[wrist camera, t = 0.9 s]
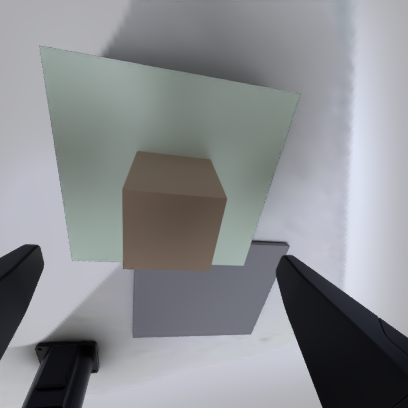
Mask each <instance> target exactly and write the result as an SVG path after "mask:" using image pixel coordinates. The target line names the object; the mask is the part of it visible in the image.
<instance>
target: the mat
mask: <svg viewBox="0 0 408 408" xmlns="http://www.w3.org/2000/svg"><path fill="white" fill-rule="evenodd" d="M289 247H290V246H289V245H288V244H283V243H263V242H251V245H250V248H249V251H248V254H247V257H246V260H245V263H244V266H236V265H211V269H210V271H185V270H143V269H134V298H133V338H142V337H177V336H211V335H246V334H251V333H252V331H253V329H254V326H255V324H256V322H257V319H258V317H259V315H260V313H261V310H262V308H263V306H264V304H265V301H266V299H267V297H268V294H269V292H270V290H271V288H272V285H273V283H274V281H275V278H276V268H277V265H278V263H279V261H280V258H281V256H283V255H286V253H287V251H288V249H289Z"/></svg>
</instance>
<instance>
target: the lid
mask: <svg viewBox="0 0 408 408" xmlns="http://www.w3.org/2000/svg"><path fill="white" fill-rule="evenodd" d="M39 48H40V54H41V60H42V66H43V73H44V80H45V86H46V93H47V99H48V106H49V112H50V120H51V126H52V133H53V139H54V145H55V152H56V157H57V158H56V159H57V165H58V172H59V179H60V185H61V192H62V198H63V204H64V211H65V218H66V224H67V231H68V238H69V244H70V251H71V257H72V261H99V262H123V269H143V270H185V271H210V269H211V265H236V266H244V263H245V260H246V257H247V254H248V251H249V248H250V245H251V242H252V239H253V236H254V233H255V230H256V227H257V224H258V221H259V218H260V215H261V212H262V209H263V206H264V203H265V200H266V197H267V194H268V191H269V188H270V185H271V182H272V179H273V176H274V173H275V170H276V167H277V164H278V161H279V158H280V155H281V152H282V149H283V146H284V143H285V140H286V137H287V134H288V131H289V128H290V125H291V122H292V119H293V116H294V113H295V110H296V107H297V104H298V101H299V98H300V95H301V94H300V93H295V92H290V91H285V90H279V89H274V88H268V87H263V86H257V85H252V84H246V83H241V82H236V81H230V80H225V79H219V78H214V77H208V76H203V75H197V74H192V73H187V72H181V71H176V70H170V69H165V68H159V67H154V66H148V65H143V64H138V63H132V62H127V61H121V60H116V59H110V58H105V57H100V56H94V55H89V54H83V53H78V52H72V51H67V50H61V49H56V48H51V47H44V46H39Z"/></svg>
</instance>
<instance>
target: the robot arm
mask: <svg viewBox="0 0 408 408" xmlns="http://www.w3.org/2000/svg"><path fill="white" fill-rule="evenodd" d="M43 268H44V261H43V256H42V252H41V248H40V246H39V245H31V244H25V245H23V246H21V247H19V248H17V249H15V250H14V251H12V252H10V253H8V254H6V255H4V256H3V257H1V258H0V360H1V358H2V356H3V354H4V353H5V351H6V349H7V347H8V345H9V343H10V341H11V339H12V338H13V336H14V334H15V332H16V330H17V328H18V326H19V324H20V323H21V320H22V319H23V317H24V315H25V313H26V311H27V308H28V306H29V303H30V301H31V299H32V296H33V293H34V291H35V288H36V286H37V284H38V281H39V278H40V276H41V273H42V271H43ZM276 277H277V281H278V285H279V288H280V292H281V296H282V300H283V303H284V307H285V310H286V313H287V316H288V318H289V321H290V324H291V326H292V329H293V331H294V334H295V337H296V339H297V342H298V345H299V347H300V350H301V352H302V355H303V358H304V360H305V363H306V366H307V368H308V371H309V373H310V376H311V379H312V381H313V384H314V387H315V389H316V392H317V394H318V397H319V400H320V402H321V405H322V407H323V408H408V338H407V337H406V336H405V335H403V334H402V333H400V332H399V331H398V330H396V329H394V328H393V327H392V326H390V325H389V324H387V323H386V322H385V321H384V320H382V319H381V318H378V316H377V315H375V314H374V313H372V312H371V311H370V310H368V309H366V308H365V307H364V306H363V305H361V304H360V303H358V302H357V301H356V300H354V299H353V298H351V297H350V296H349V295H347V294H346V293H345V292H343V291H342V290H340V289H339V288H338V287H336V286H335V285H333V284H332V283H331V282H329V281H328V280H326V279H325V278H324V277H322V276H321V275H320V274H318V273H317V272H315V271H314V270H313V269H311V268H310V267H308V266H307V265H306V264H304V263H303V262H301V261H300V260H299V259H297V258H296V257H294V256H293V255H283V256H281V258H280V261H279V263H278V265H277V268H276ZM35 351H36V354H37V357H38V360H39V363H40V366H39V369H38V371H37V373H36V376H35V378H34V380H33V382H32V385H31V387H30V389H29V392H28V394H27V396H26V399H25V401H24V403H23V406H22V408H82V405H83V401H84V397H85V393H86V389H87V385H88V381H89V378H90V374H91V373H97V372H98V370H99V362H98V353H97V344H96V343H95V342H67V343H39V344H37V346H36V348H35Z"/></svg>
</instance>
